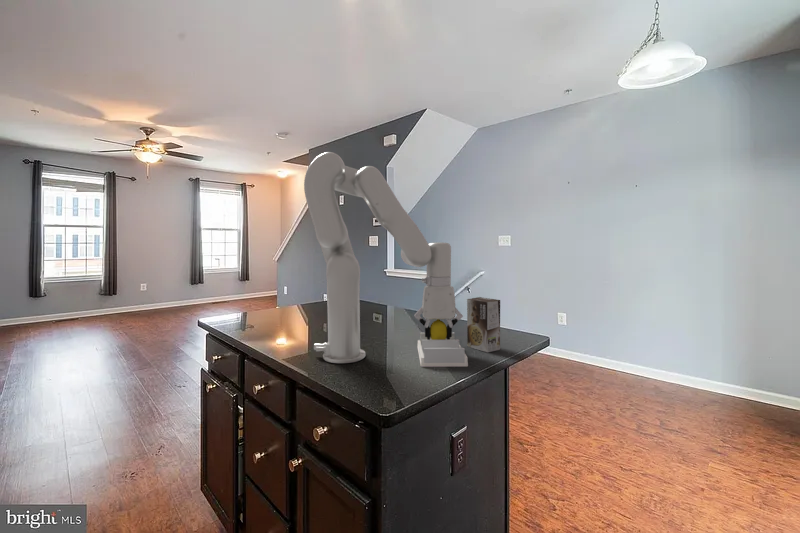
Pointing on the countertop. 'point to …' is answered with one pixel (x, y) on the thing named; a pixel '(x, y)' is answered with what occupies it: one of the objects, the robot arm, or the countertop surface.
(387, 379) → the countertop surface
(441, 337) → the lemon
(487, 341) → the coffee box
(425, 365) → the dish rack
